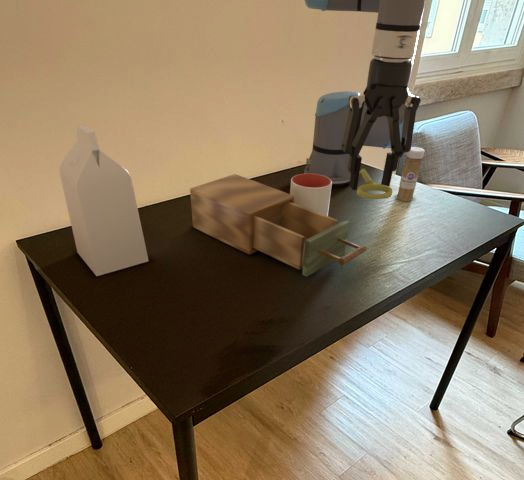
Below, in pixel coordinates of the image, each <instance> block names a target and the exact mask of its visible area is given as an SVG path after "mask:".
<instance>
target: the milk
mask: <svg viewBox="0 0 524 480" xmlns="http://www.w3.org/2000/svg"><path fill="white" fill-rule="evenodd" d="M76 136H77V140H76V141H75V143H74V144H73V145H72V147H71V148H70V149H69V151H68V152H67V154H66V155H65V156H64V157H63V159H62V161H61V162H60V165H59V176H60V179H61V186H62V189H63V193H64V198H65V202H66V207H67V211H68V216H69V221H70V225H71V229H72V235H73V239H74V242H75V243H74V244H75V248H76V253H77V254H78V255H79V257H80V258H81V259H82V260H83V261H84V263H85V264H86V265H87V266H88V268H89V269H90V270H91V271H92V273H93V274H94V275H95V276H96V277H99V276H102V275H105V274H110V273H114V272H116V271H117V272H118V271H120V270H124V269H127V268H130V267H134V266H138V265H140V264H144V263H147V262H150V260H149V257H148V251H147V247H146V241H145V237H144V232H143V227H142V222H141V219H140V213H139V209H138V208H139V207H138V204H137V198H136V194H135V190H134V185H133V180H132V178H131V177H132V176H131V174H130V173H129V171H128V169H126V168H124V167H123V166H122V165H121V164H119V163H117V162H116V161H115V160H114V159H113V158H111V157H110V156H109V155H107V154H106V153H104V152H103V151H102V150H101V149H100V146H99V145H100V144H99V142H98V138H97V135H96V132H95V131H94V130H93V129H91V128H89V127H88V126H86V125H85V124H78V125H76Z"/></svg>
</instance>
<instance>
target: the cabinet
mask: <svg viewBox="0 0 524 480" xmlns="http://www.w3.org/2000/svg"><path fill="white" fill-rule="evenodd" d="M189 193H190V194H189V195H190V206H191V208H190V209H191V218H192V219H191V220H192V228H194V229H196V230H198V231H200V232H202V233H204V234H206V235H208V236H210V237H212V238H214V239H216V240H218V241H220V242H222V243H224V244H227V245H229V246H231V247H232V248H235V249H237V250H239V251H240V252H243V253H245V254H247V255H249V256H250V255H252V254H254V253H257V252H260V251H259V250H257V249H255V248H252V218H253V217H252V216H255V215H257V214H260V213H262V212H264V211H267V210H269V209H272V208H274V207H276V206H279V205H281V204H284V203H286V202H288V201H289V202H292V203H294V196H293V195H291V194H290V193H288V192H285V191H283V190H280V189H277V188H274V187H271V186H269V185H266V184H264V183H261V182H259V181H255V180H252V179H250V178H247V177H245V176H242V175H239V174H236V173H233V174H230V175H228V176H224V177H221V178H218V179H215V180H212V181H209V182H206V183H203V184H199V185H197V186H194V187H191V188H189Z"/></svg>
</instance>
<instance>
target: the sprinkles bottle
mask: <svg viewBox="0 0 524 480" xmlns="http://www.w3.org/2000/svg"><path fill="white" fill-rule="evenodd" d="M424 155H425V149H424V148H422V147H418V146H411V149H410V151H409V152H405V161H404V165H403V168H402V172H401V176H400V180H399V187H398V192H397V194H396V198H397V199H398V200H400V201H405V202H409V201H412V200H413V198H414V192H415V189H416V186H417V183H418V178H419V174H420V170H421V164H422V162H423V158H424V157H425V156H424Z"/></svg>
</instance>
